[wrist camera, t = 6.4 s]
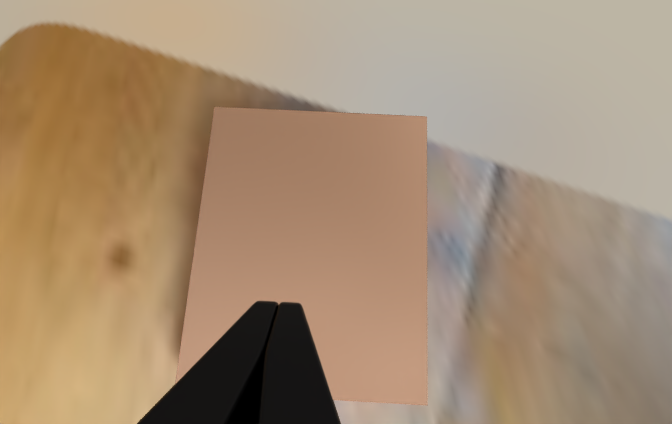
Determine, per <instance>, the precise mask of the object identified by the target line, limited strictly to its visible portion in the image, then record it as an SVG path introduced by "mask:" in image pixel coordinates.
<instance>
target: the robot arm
mask: <svg viewBox="0 0 672 424" xmlns="http://www.w3.org/2000/svg"><path fill="white" fill-rule="evenodd" d="M137 424H341V423H340V419H339V416H338V413H337V410H336V407H335V404H334V401H333V398H332V395H331V392H330V389H329V386H328V383H327V380H326V377H325V374H324V371H323V368H322V364H321V361H320V358H319V355H318V352H317V349H316V346H315V343H314V340H313V337H312V334H311V331H310V328H309V325H308V322H307V319H306V316H305V313H304V309H303V307H302V305H301V304H300V303H297V302H281V303H280V304H278V303H277V302H275V301H256V302H255V303H254V304H253V305H252V306H251V307H250V308H249V309H248V310H247V311H246V312H245V313H244V314H243V315H242V316H241V317H240V318H239V319H238V320H237V321H236V322H235V323H234V324H233V325H232V326H231V327H230V328H229V329H228V330H227V331H226V332H225V334H224V335H223V336H222V337H221V338H220V339H219V340H218V341H217V342H216V343H215V344H214V345H213V346H212V347H211V348H210V349H209V350H208V351H207V352H206V353H205V354H204V355H203V356H202V357H201V358H200V359H199V360H198V361H197V362H196V363H195V364H194V365H193V366H192V367H191V368H190V370H189V371H188V372H187V373H186V374H185V375H184V376H183V377H182V378H181V379H180V380H179V381H178V382H177V383H176V384H175V385H174V386H173V387H172V388H171V389H170V390H169V391H168V392H167V393H166V394H165V395H164V396H163V397H162V398H161V399H160V400H159V401H158V402H157V403H156V405H155V406H154V407H153V408H152V409H151V410H150V411H149V412H148V413H147V414H146V415H145V416H144V417H143V418H142V419H141V420H140V421H139V422H138V423H137Z"/></svg>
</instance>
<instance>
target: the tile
mask: <svg viewBox="0 0 672 424" xmlns="http://www.w3.org/2000/svg"><path fill="white" fill-rule="evenodd" d="M256 301H275V302H277V303H278V304H280V303H281V302H297V303H300V304H301V305H302V307H303V309H304V313H305V316H306V319H307V322H308V325H309V328H310V331H311V334H312V337H313V340H314V343H315V346H316V349H317V352H318V355H319V358H320V361H321V364H322V368H323V371H324V374H325V377H326V380H327V383H328V386H329V389H330V392H331V395H332V398H333V400H344V401H361V402H378V403H395V404H412V405H427V117H425V116H404V115H381V114H360V113H339V112H318V111H296V110H275V109H253V108H232V107H214V114H213V121H212V128H211V135H210V142H209V149H208V156H207V163H206V170H205V177H204V185H203V192H202V199H201V206H200V213H199V220H198V227H197V234H196V241H195V248H194V255H193V262H192V269H191V276H190V283H189V290H188V297H187V304H186V311H185V318H184V326H183V333H182V340H181V347H180V354H179V361H178V368H177V375H176V382H175V384H176V383H177V382H178V381H179V380H180V379H181V378H182V377H183V376H184V375H185V374H186V373H187V372H188V371H189V370H190V368H191V367H192V366H193V365H194V364H195V363H196V362H197V361H198V360H199V359H200V358H201V357H202V356H203V355H204V354H205V353H206V352H207V351H208V350H209V349H210V348H211V347H212V346H213V345H214V344H215V343H216V342H217V341H218V340H219V339H220V338H221V337H222V336H223V335H224V334H225V332H226V331H227V330H228V329H229V328H230V327H231V326H232V325H233V324H234V323H235V322H236V321H237V320H238V319H239V318H240V317H241V316H242V315H243V314H244V313H245V312H246V311H247V310H248V309H249V308H250V307H251V306H252V305H253V304H254V303H255V302H256Z"/></svg>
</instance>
